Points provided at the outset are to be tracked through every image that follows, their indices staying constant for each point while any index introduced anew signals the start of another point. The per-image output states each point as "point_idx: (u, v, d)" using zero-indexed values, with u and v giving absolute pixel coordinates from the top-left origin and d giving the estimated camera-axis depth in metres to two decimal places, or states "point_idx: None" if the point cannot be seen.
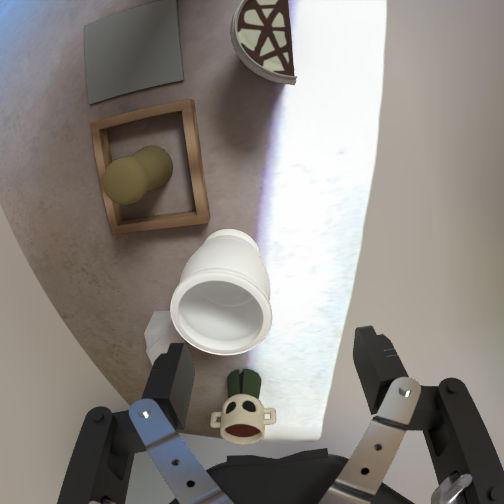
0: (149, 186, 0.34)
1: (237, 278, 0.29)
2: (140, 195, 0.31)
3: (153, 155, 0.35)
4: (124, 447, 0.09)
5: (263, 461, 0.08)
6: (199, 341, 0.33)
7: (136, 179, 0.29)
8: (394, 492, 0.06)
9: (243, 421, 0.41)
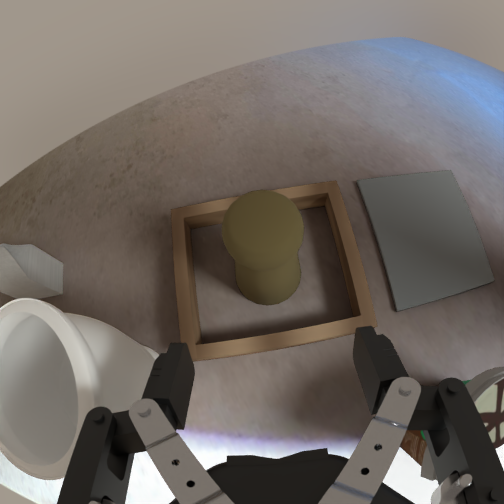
0: (247, 271, 0.22)
1: None
2: (238, 256, 0.18)
3: (292, 276, 0.24)
4: (124, 447, 0.09)
5: (263, 461, 0.08)
6: None
7: (270, 250, 0.18)
8: (394, 492, 0.06)
9: None
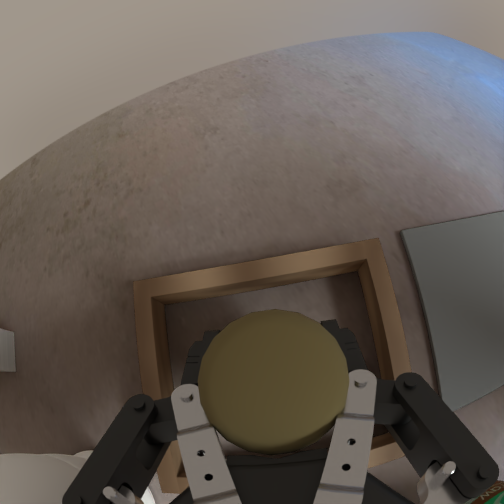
0: None
1: None
2: (229, 440, 0.09)
3: None
4: (164, 435, 0.10)
5: (263, 461, 0.08)
6: None
7: (288, 445, 0.08)
8: (394, 492, 0.06)
9: None
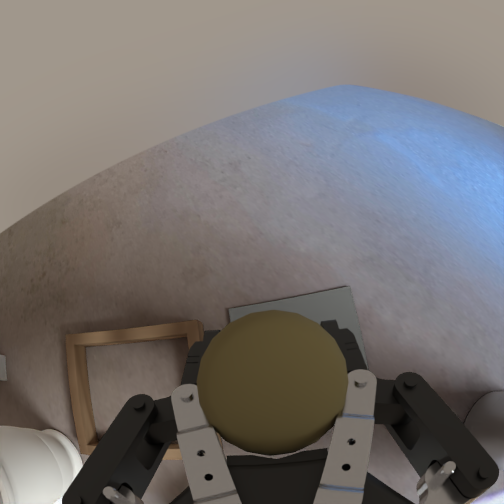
0: None
1: None
2: (228, 441, 0.09)
3: None
4: (164, 435, 0.10)
5: (263, 461, 0.08)
6: None
7: (287, 445, 0.08)
8: (394, 492, 0.06)
9: None
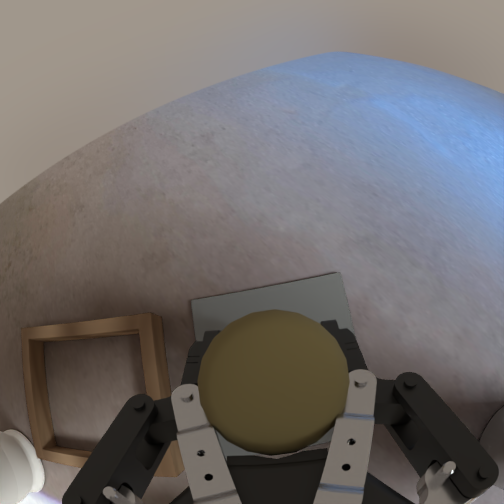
0: None
1: None
2: (229, 441, 0.09)
3: None
4: (164, 435, 0.10)
5: (263, 461, 0.08)
6: None
7: (288, 445, 0.08)
8: (394, 492, 0.06)
9: None
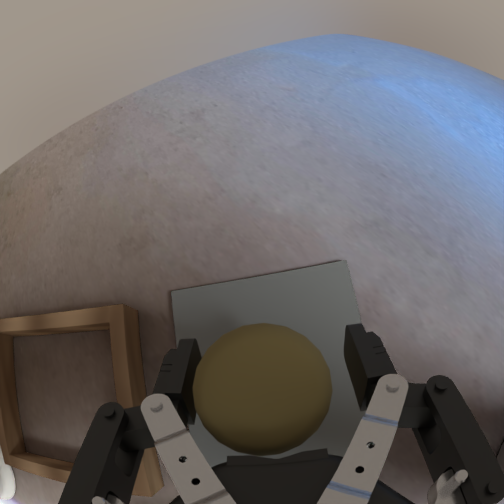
0: None
1: None
2: None
3: None
4: (135, 443, 0.10)
5: (263, 461, 0.08)
6: None
7: (273, 447, 0.09)
8: (394, 492, 0.06)
9: None
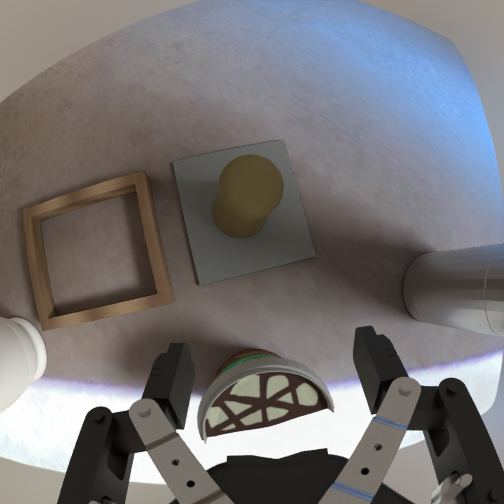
0: (233, 216, 0.27)
1: None
2: (235, 210, 0.23)
3: (266, 216, 0.30)
4: (124, 447, 0.09)
5: (263, 461, 0.08)
6: None
7: (261, 206, 0.23)
8: (394, 492, 0.06)
9: None
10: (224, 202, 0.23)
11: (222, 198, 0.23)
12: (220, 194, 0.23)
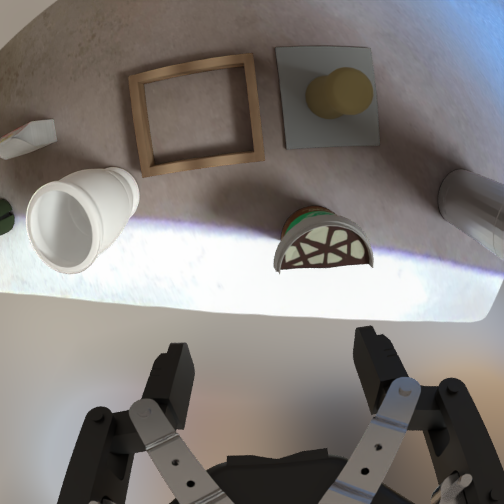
0: (328, 106, 0.30)
1: (97, 246, 0.28)
2: (335, 106, 0.27)
3: None
4: (124, 447, 0.09)
5: (263, 461, 0.08)
6: (33, 206, 0.27)
7: (355, 109, 0.26)
8: (394, 492, 0.06)
9: None
10: (328, 99, 0.27)
11: (327, 95, 0.27)
12: (326, 92, 0.27)
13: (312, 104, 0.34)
